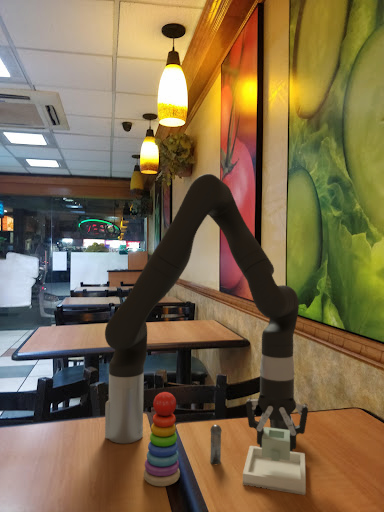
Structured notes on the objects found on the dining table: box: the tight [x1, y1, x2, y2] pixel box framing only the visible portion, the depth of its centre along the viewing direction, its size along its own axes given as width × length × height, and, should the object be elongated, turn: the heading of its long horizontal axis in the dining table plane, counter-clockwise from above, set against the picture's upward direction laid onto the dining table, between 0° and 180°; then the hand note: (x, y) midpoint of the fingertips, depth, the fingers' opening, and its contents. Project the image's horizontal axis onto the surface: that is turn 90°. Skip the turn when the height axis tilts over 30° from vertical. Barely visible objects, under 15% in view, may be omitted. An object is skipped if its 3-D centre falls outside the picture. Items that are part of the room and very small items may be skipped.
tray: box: [242, 445, 307, 496], centre depth 90 cm, size 13×13×2 cm
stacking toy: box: [143, 391, 181, 487], centre depth 88 cm, size 8×8×19 cm
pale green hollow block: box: [262, 426, 290, 462], centre depth 90 cm, size 7×6×4 cm
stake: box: [210, 424, 222, 465], centre depth 95 cm, size 3×3×9 cm
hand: (276, 447), depth 90 cm, fingers closed on pale green hollow block, 6 cm apart
